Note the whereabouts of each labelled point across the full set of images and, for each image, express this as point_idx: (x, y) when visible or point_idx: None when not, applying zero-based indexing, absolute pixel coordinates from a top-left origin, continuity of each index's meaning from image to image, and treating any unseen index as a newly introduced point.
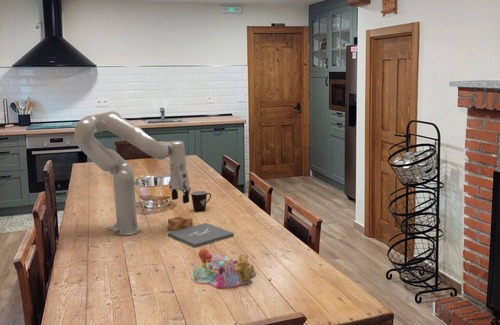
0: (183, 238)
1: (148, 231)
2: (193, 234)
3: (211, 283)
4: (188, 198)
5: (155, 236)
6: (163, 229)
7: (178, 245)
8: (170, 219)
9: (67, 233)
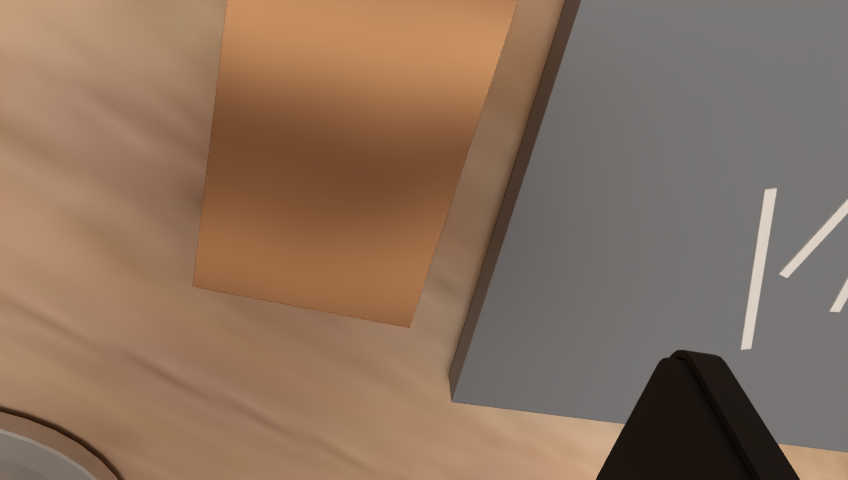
0: None
1: (143, 395)
2: (772, 292)
3: None
4: (772, 474)
5: (349, 443)
6: None
7: None
8: (241, 275)
9: None
